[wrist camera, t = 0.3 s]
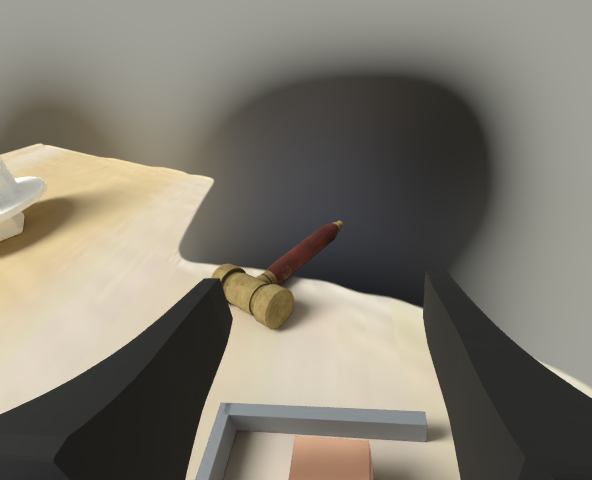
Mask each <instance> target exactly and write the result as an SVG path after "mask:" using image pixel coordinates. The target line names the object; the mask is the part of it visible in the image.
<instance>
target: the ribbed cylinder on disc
mask: <svg viewBox="0 0 592 480" xmlns="http://www.w3.org/2000/svg"><path fill="white" fill-rule="evenodd" d="M46 189H47V186H46V184H45V182H44V181H43V179H41V178H39V177H22V178H16V179H14V177H13V176H12V174H11V173H10V172H9V170H8V169H7V167H6V166H5V164H4V163H3V161H2V160H1V158H0V241H3V240H5V239H8V238H10V237H13V236H16V235H18V234H20V233H22V231H23V225H24V217H25V216H24V214H23V213H22V211H23V210H24V209H26V208H27V207H29V206H30V205H32V204H33V203H35V202H36V201H37V200H38V199H39V198H40V197H41V196H42V195H43V194H44V193H45V191H46Z"/></svg>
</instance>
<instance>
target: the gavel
mask: <svg viewBox="0 0 592 480" xmlns="http://www.w3.org/2000/svg"><path fill="white" fill-rule="evenodd" d="M342 225H343V223H342V222H341V221H337V222H336V223H335V222H333V223H331V224H327V225H323V226H322V227H321V228H319V229H318V230H317V231H315V232H314V233H313V234H312V235H310V236H309V237H308V238H306V239H305V240H304V241H302V242H301V243H300V244H298V245H297V246H296V247H294V248H293V249H292V250H290V251H289V252H288V253H286V254H285V255H284V256H282V257H281V258H280V259H278V260H277V261H276V262H274V263H273V264H272V265H271V266H270V267H269V268H268V269H267V270H266V271H265V272H264V273H263V274H261V275H260V276H258V277H257V278H255V277H252V276H250V275H248V274H246V272H245V271H244V270H243V269H241V268H239V267H237V266H234V265H232V264H224V265H222V266H220V267H219V268H217V269H216V270H215V272H214V273H213V275H212V277H211V278H220V281H221V284H222V287H223V290H224V293H225V296H226V299H227V302H228V303H231V304H233V305H235V306H237V307H239V308H240V309H242V310H244V311H246V312H248V313H249V314H251V315H253V316H254V317H255V319H256V320H257V321H258V322H260V323H261V324H263V325H265V326H267V327H268V328H271V329H276V328H278V327H280V326H281V325H282V324H283V323H284V322H285V321H286V320H287V319H288V318H289V316H290V314H291V312H292V309H293V305H294V297H293V294H292V292H291V291H290V290H288V289H285V288H283V287H281V286H279V285H277V284H278V283H280V282H282V281H284V280H285V279H286V278H288V277H289V276H290V275H291V274H293V273H294V272H295V271H296V270H297V269H299V268H300V267H301V266H302V265H303V264H305V263H306V262H307V261H308V260H310V259H311V258H312V257H313V256H315V255H316V254H317V253H318V252H319V251H321V250H322V249H323V248H324V247H326V246H327V245H328V244H329V243H330V242H332V241H333V240H334V239H335V237H336V235H337V233H338V232H339V231H340V227H342Z"/></svg>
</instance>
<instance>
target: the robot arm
mask: <svg viewBox="0 0 592 480" xmlns="http://www.w3.org/2000/svg"><path fill="white" fill-rule="evenodd" d="M423 320H424V326H425V332H426V338H427V343H428V347H429V351H430V354H431V357H432V361H433V364H434V368H435V371H436V374H437V378H438V381H439V385H440V388H441V391H442V395H443V398H444V401H445V405H446V408H447V412H448V416H449V420H450V425H451V430H452V435H453V440H454V445H455V451H456V456H457V461H458V467H459V472H460V478H461V480H592V398H590V397H589V396H587V395H586V394H584V393H583V392H581V391H580V390H578V389H576V388H575V387H573V386H572V385H571V384H569V383H568V382H566V381H565V380H563V379H562V378H560V377H559V376H558V375H556V374H555V373H553V372H552V371H550V370H549V369H547V368H546V367H545V366H543V365H542V364H541V363H539V362H538V361H537V360H535V359H534V358H533V357H532V356H530V355H529V354H528V353H527V352H525V351H524V350H523V349H522V348H521V347H519V346H518V345H517V344H516V343H515V342H514V341H513V340H511V339H510V338H509V337H508V336H507V335H506V334H505V333H504V332H503V331H501V330H500V329H499V328H498V327H497V326H496V325H495V324H494V323H493V322H492V321H491V320H490V319H489V318H488V317H487V316H486V315H485V314H484V313H483V312H482V311H481V310H480V309H479V308H478V307H477V306H476V305H475V303H474V302H473V301H472V300H471V299H470V298H469V297H468V296H467V295H466V293H464V291H463V290H462V289H461V288H460V287H459V285H458V284H457V283H456V282H455V281H454V279H453V278H452V277H451V276H450V274H449V273H448V272H446V271H445V270H442V271H426V273H425V291H424V308H423ZM232 321H233V318H232V315H231V311H230V308H229V305H228V302H227V299H226V296H225V293H224V290H223V287H222V284H221V281H220V278H207V279H203V280H202V281H201V282H199V283H198V284H197V285H196V286H195V287H194V288H193V289H192V290H190V291H189V292H188V293H187V294H186V295H185V296H184V297H183V298H182V299H181V300H179V301H178V302H177V303H176V304H175V305H174V306H173V307H172V308H171V309H169V310H168V311H167V312H166V313H165V314H164V315H163V316H162V317H160V318H159V319H158V320H157V321H155V322H154V323H153V324H152V325H151V326H149V327H148V328H147V329H146V330H145V331H143V332H142V333H141V334H140V335H138V336H137V337H136V338H135V339H133V340H132V341H131V342H129V343H128V344H127V345H125V346H124V347H122V348H121V349H119V350H118V351H117V352H115V353H114V354H112V355H111V356H109V357H108V358H106V359H105V360H103V361H101V362H100V363H98V364H97V365H95V366H93V367H92V368H90V369H88V370H87V371H85V372H84V373H82V374H80V375H79V376H77V377H75V378H73V379H71V380H70V381H68V382H66V383H64V384H62V385H61V386H59V387H57V388H55V389H53V390H51V391H49V392H47V393H45V394H43V395H41V396H39V397H37V398H35V399H33V400H31V401H29V402H26V403H24V404H22V405H20V406H18V407H16V408H13V409H11V410H9V411H7V412H5V413H2V414H0V480H185V478H186V474H187V469H188V465H189V460H190V456H191V452H192V448H193V444H194V440H195V436H196V432H197V429H198V425H199V421H200V417H201V414H202V410H203V407H204V404H205V401H206V399H207V396H208V393H209V391H210V388H211V386H212V383H213V380H214V378H215V375H216V372H217V370H218V367H219V365H220V362H221V359H222V357H223V354H224V351H225V348H226V346H227V342H228V338H229V334H230V330H231V325H232Z"/></svg>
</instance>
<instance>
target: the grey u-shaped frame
mask: <svg viewBox="0 0 592 480" xmlns="http://www.w3.org/2000/svg"><path fill="white" fill-rule="evenodd" d="M237 430H242V431H258V432H274V433H290V434H306V435H322V436H338V437H354V438H370V439H386V440H402V441H418V442H426V438H427V421H426V414H425V412H420V411H398V410H375V409H353V408H330V407H308V406H285V405H263V404H240V403H221V404H220V407H219V410H218V413H217V416H216V419H215V422H214V425H213V428H212V431H211V434H210V437H209V440H208V443H207V446H206V449H205V452H204V455H203V458H202V461H201V464H200V467H199V470H198V473H197V476H196V479H195V480H223V478H224V474H225V470H226V467H227V463H228V460H229V456H230V452H231V449H232V445H233V442H234V438H235V434H236V431H237Z"/></svg>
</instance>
